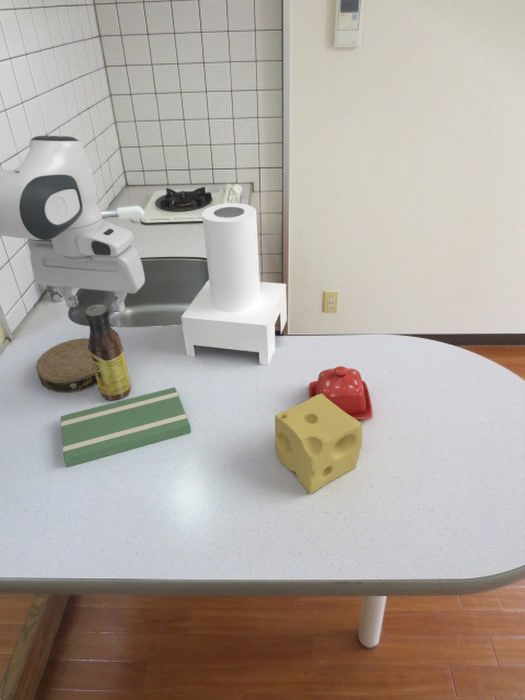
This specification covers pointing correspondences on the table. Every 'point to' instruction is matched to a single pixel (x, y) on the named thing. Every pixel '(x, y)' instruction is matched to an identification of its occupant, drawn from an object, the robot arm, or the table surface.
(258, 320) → the paper towel holder
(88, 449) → the towel
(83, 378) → the wooden log slice
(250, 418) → the table surface
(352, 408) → the butter dish
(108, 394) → the sauce bottle
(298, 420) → the cheese
